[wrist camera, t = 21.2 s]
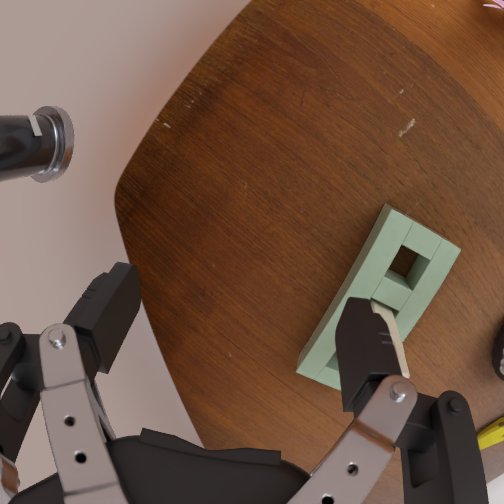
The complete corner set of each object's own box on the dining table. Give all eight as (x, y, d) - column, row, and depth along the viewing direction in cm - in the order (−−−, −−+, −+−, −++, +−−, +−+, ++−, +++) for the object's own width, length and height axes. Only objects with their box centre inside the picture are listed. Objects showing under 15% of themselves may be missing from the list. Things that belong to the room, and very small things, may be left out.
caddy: (299, 354, 36) (295, 372, 32) (385, 202, 28) (391, 208, 25) (357, 378, 35) (357, 397, 32) (449, 239, 27) (461, 249, 24)
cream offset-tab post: (356, 312, 32) (363, 402, 19) (372, 285, 31) (392, 368, 18) (374, 320, 32) (388, 412, 19) (391, 294, 31) (418, 379, 18)
